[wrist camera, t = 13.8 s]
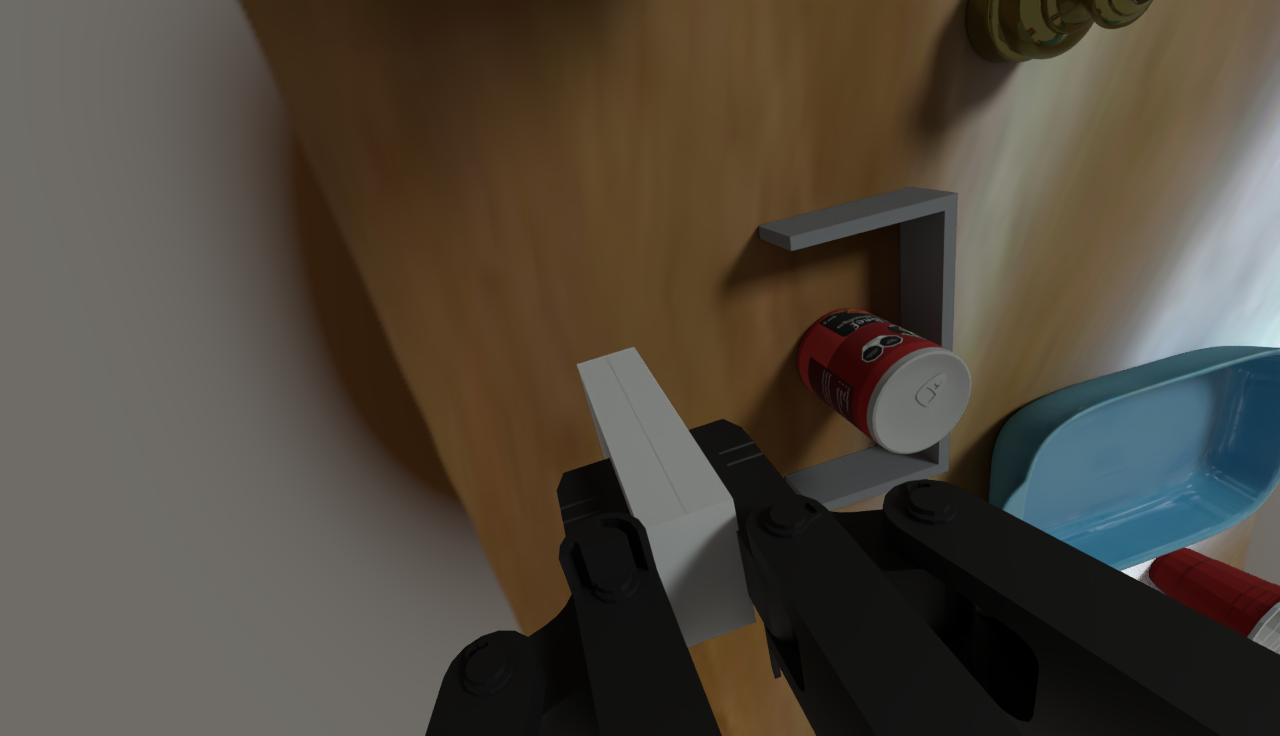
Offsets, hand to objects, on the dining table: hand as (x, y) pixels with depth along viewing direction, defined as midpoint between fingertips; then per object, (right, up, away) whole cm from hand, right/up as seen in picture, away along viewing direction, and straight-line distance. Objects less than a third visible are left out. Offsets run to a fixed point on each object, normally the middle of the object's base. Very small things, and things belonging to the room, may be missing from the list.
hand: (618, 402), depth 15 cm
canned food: (+17, +2, +35) cm, 39 cm away
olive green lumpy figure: (+27, +27, +28) cm, 47 cm away
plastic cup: (+67, -24, +60) cm, 93 cm away
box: (+17, +3, +35) cm, 39 cm away
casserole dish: (+50, -7, +48) cm, 70 cm away
